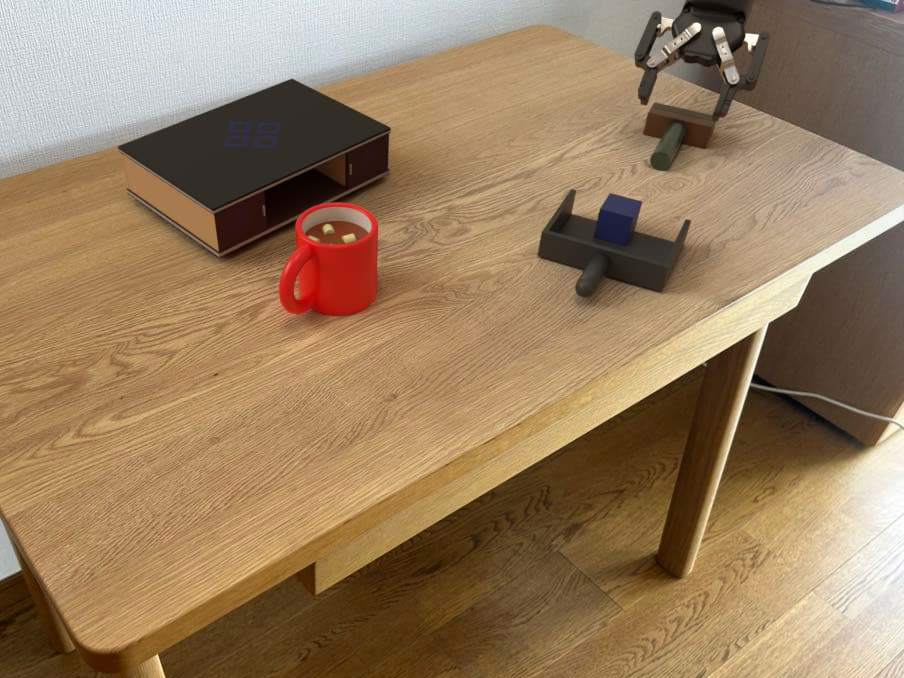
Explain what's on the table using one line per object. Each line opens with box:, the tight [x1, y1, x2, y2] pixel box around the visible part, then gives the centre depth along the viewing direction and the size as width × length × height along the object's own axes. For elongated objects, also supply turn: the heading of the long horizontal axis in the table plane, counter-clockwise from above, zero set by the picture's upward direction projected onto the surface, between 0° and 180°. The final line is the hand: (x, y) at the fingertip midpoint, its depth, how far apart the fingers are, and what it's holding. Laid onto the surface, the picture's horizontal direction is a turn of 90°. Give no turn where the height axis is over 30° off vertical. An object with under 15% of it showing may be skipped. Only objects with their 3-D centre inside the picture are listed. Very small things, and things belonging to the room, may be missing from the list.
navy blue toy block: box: [594, 192, 643, 246], centre depth 94 cm, size 4×4×4 cm
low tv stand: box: [117, 78, 392, 259], centre depth 99 cm, size 17×25×7 cm
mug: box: [278, 201, 379, 316], centre depth 84 cm, size 8×12×8 cm, turn 144°
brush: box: [642, 102, 717, 171], centre depth 107 cm, size 8×3×11 cm
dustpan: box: [537, 188, 692, 299], centre depth 90 cm, size 16×13×3 cm
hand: (678, 110), depth 103 cm, fingers open, 8 cm apart
